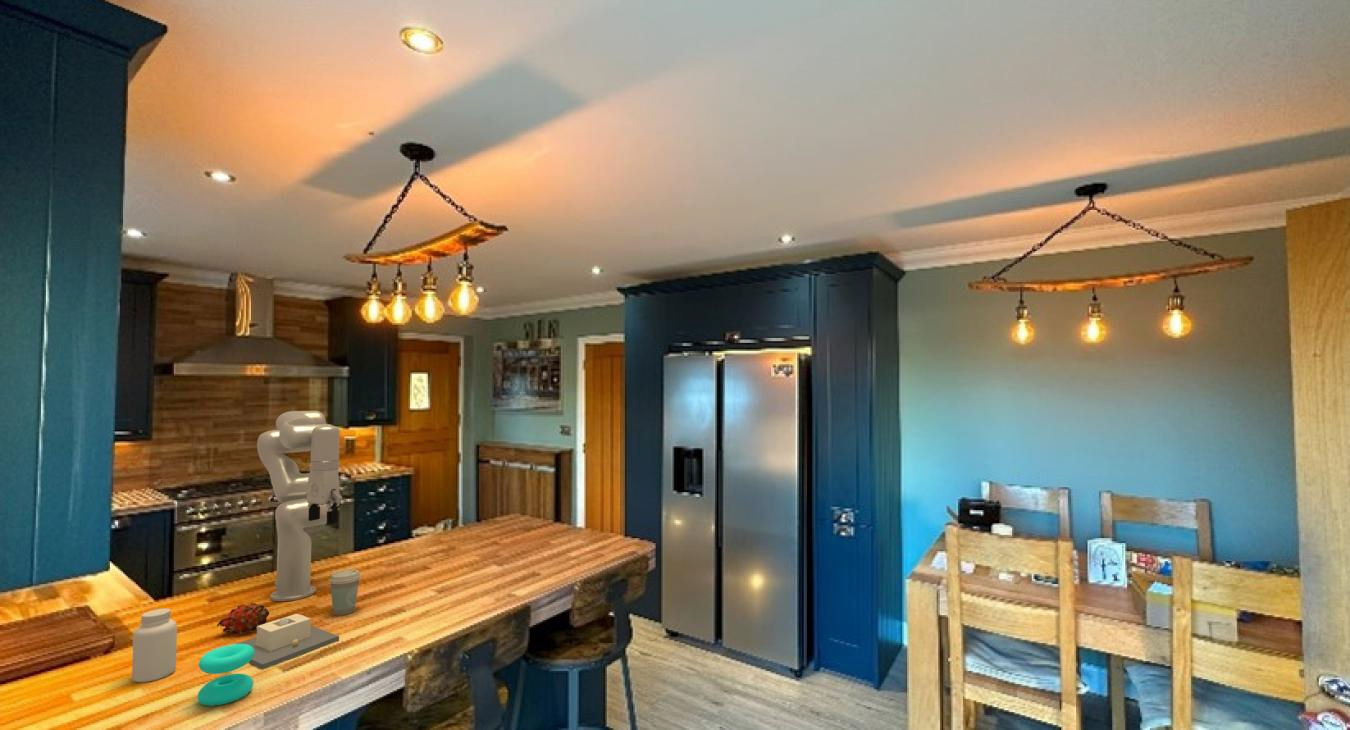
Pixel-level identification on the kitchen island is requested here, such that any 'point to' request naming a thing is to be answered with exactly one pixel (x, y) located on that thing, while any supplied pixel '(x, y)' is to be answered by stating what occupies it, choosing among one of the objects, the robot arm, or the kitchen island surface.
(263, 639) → the flange block
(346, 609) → the coffee cup
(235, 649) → the donuts
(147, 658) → the pill bottle
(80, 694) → the kitchen island surface
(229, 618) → the dragon fruit
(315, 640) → the pin plate
